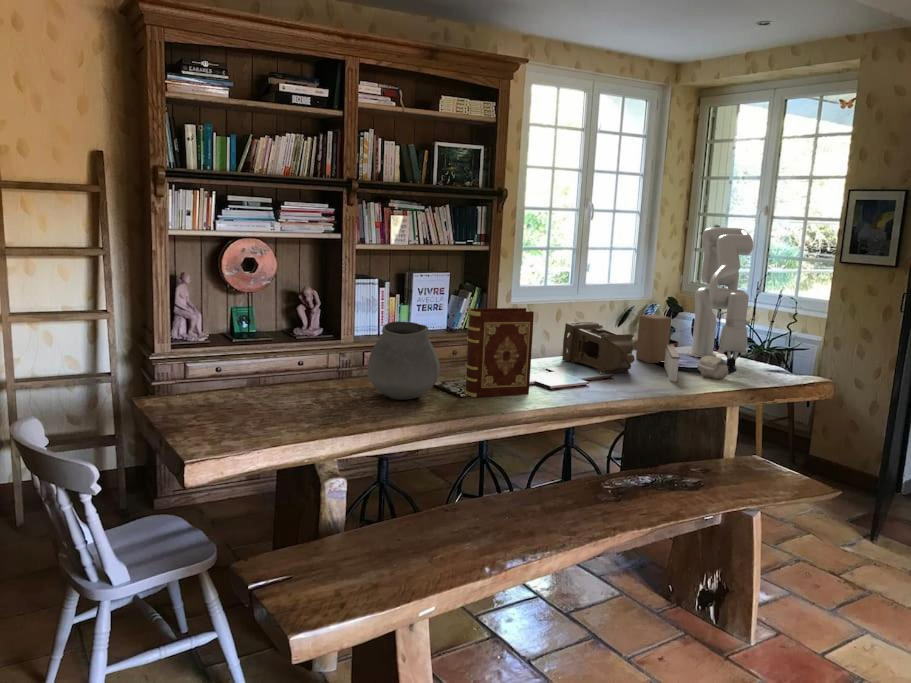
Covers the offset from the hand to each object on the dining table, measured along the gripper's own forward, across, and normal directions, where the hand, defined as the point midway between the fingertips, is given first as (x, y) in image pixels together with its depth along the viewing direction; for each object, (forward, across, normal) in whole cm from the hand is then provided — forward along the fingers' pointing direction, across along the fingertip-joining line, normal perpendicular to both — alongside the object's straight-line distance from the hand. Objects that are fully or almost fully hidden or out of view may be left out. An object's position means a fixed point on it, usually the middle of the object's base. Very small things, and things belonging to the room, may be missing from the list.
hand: (730, 368), depth 297 cm
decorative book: (+5, +89, +53) cm, 103 cm away
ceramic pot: (+5, +119, +67) cm, 137 cm away
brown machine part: (+5, +50, 0) cm, 51 cm away
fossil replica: (+4, +7, 0) cm, 8 cm away
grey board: (+4, +23, 0) cm, 24 cm away
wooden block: (+4, +29, -22) cm, 37 cm away
